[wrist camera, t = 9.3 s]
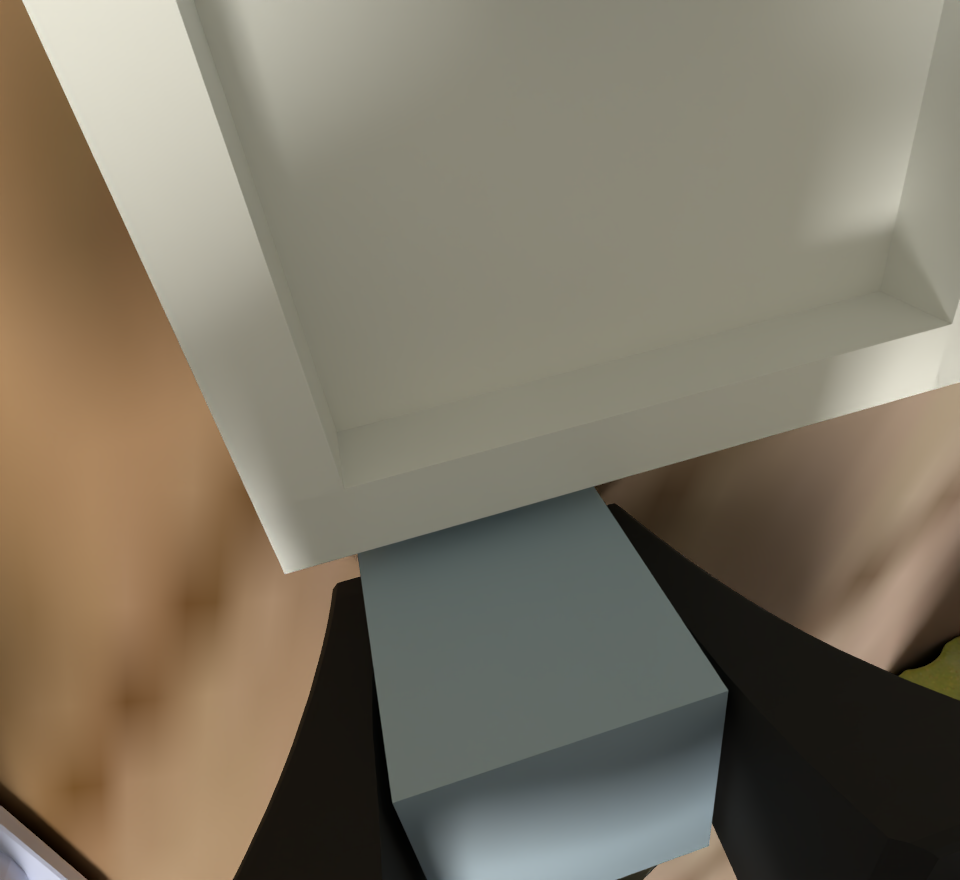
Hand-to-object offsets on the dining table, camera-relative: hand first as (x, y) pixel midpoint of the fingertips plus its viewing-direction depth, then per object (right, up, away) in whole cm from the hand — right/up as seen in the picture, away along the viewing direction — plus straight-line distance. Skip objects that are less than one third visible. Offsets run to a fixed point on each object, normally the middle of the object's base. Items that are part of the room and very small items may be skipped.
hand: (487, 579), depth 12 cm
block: (0, +1, +1) cm, 1 cm away
